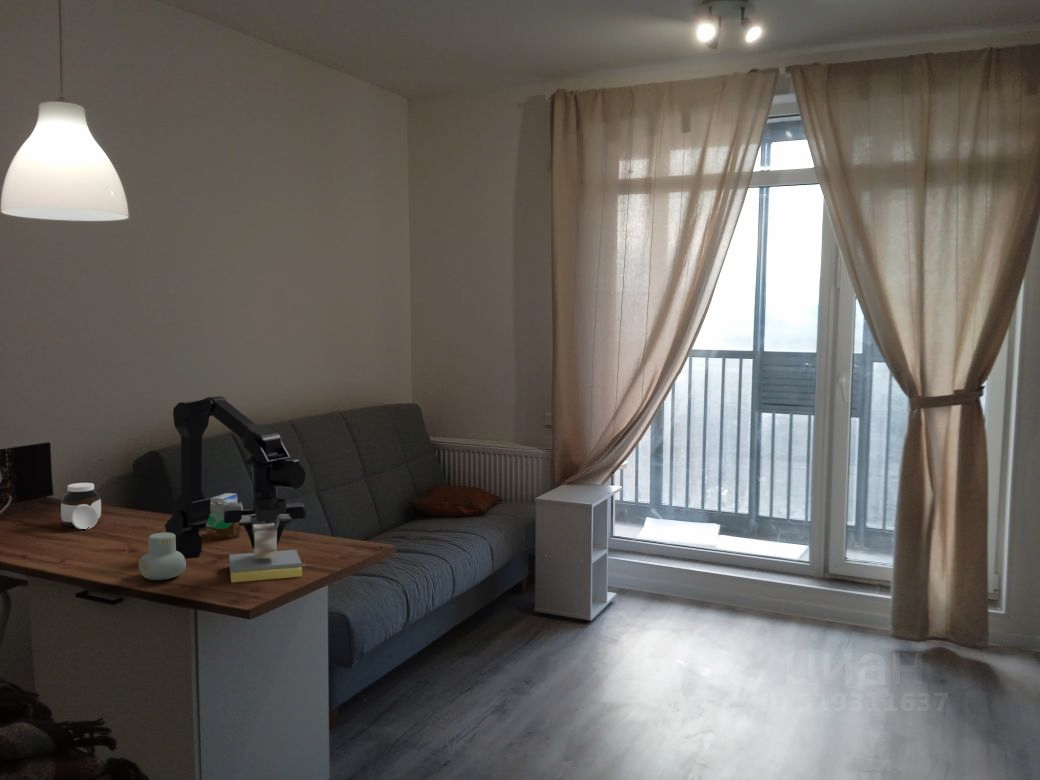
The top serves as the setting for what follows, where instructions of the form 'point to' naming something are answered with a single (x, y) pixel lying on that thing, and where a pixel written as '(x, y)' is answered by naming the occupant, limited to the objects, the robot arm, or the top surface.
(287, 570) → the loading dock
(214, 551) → the top surface
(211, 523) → the food container
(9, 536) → the top surface
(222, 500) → the medicine box
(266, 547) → the white milk carton
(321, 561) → the top surface
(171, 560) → the air freshener
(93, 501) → the spread jar
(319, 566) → the top surface
